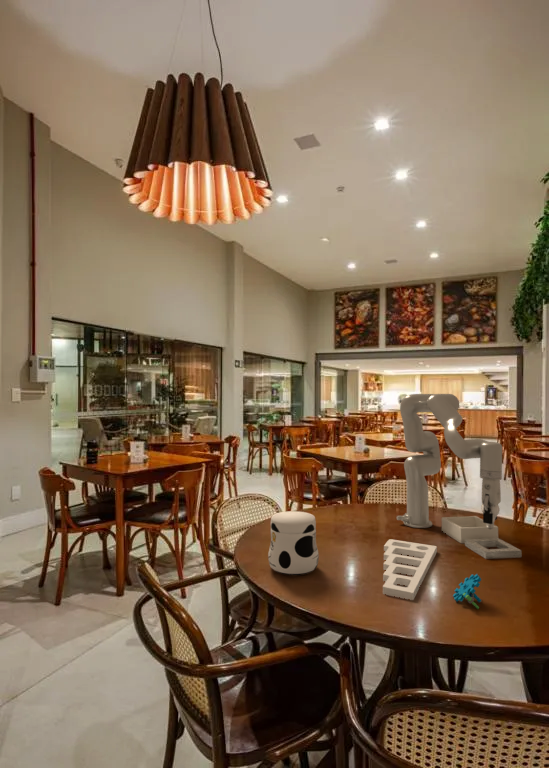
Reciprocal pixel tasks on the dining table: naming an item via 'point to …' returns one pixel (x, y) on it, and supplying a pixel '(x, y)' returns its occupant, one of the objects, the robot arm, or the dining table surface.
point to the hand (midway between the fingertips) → (490, 520)
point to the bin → (467, 528)
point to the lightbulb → (495, 512)
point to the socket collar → (502, 552)
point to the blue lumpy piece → (468, 590)
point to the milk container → (293, 543)
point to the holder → (405, 567)
